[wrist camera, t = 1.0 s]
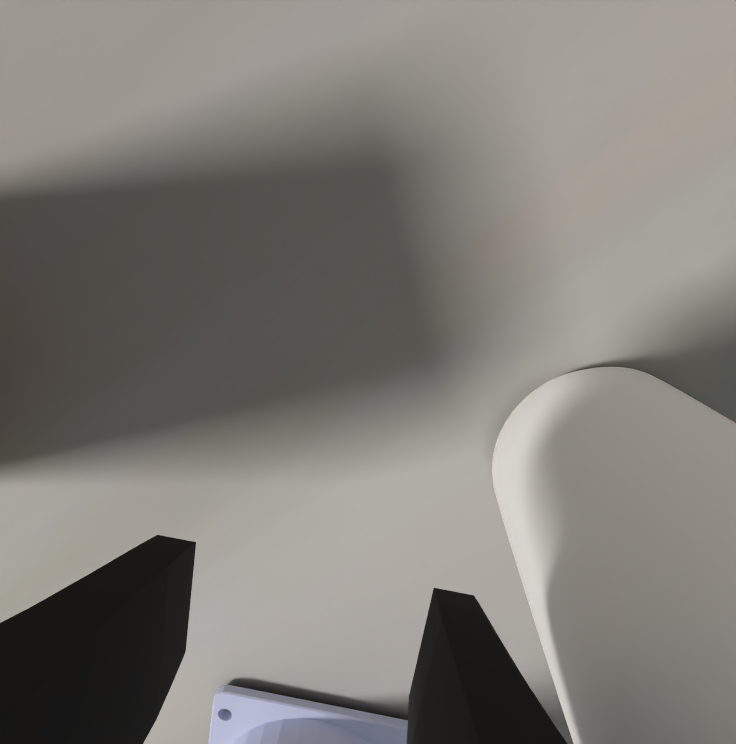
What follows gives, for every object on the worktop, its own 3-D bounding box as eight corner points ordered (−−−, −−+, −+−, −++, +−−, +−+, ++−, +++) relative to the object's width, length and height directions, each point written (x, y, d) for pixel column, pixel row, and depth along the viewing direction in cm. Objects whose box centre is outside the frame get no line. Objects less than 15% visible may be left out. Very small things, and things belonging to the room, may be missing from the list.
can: (716, 364, 16) (1472, 692, 5) (684, 557, 18) (1189, 1159, 6) (495, 359, 17) (681, 647, 5) (483, 548, 18) (605, 1090, 7)
